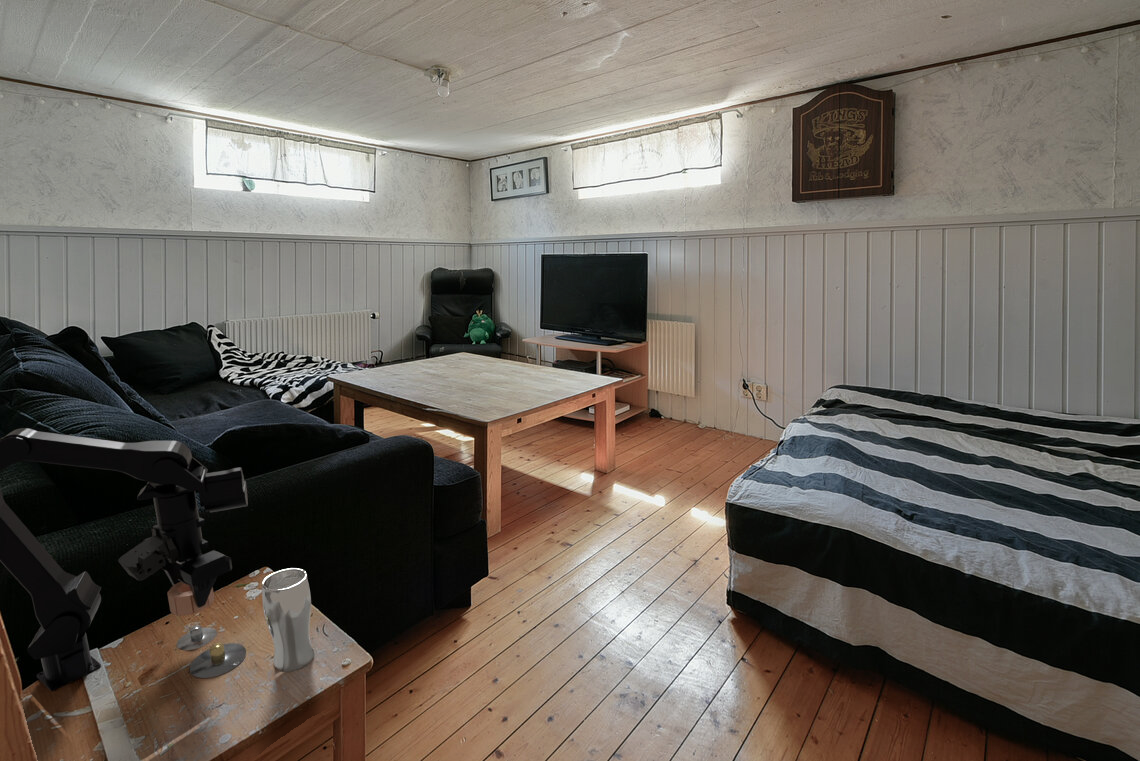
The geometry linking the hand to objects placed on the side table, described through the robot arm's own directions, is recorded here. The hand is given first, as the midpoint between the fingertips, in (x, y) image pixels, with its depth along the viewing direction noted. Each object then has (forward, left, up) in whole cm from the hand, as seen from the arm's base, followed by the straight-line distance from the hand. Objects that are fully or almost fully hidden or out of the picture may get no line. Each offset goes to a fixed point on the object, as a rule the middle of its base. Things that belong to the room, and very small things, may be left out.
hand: (191, 600), depth 99 cm
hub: (+9, -1, -8) cm, 12 cm away
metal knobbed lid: (0, 0, -8) cm, 8 cm away
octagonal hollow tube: (0, 0, -1) cm, 1 cm away
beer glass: (+19, +6, -8) cm, 21 cm away
